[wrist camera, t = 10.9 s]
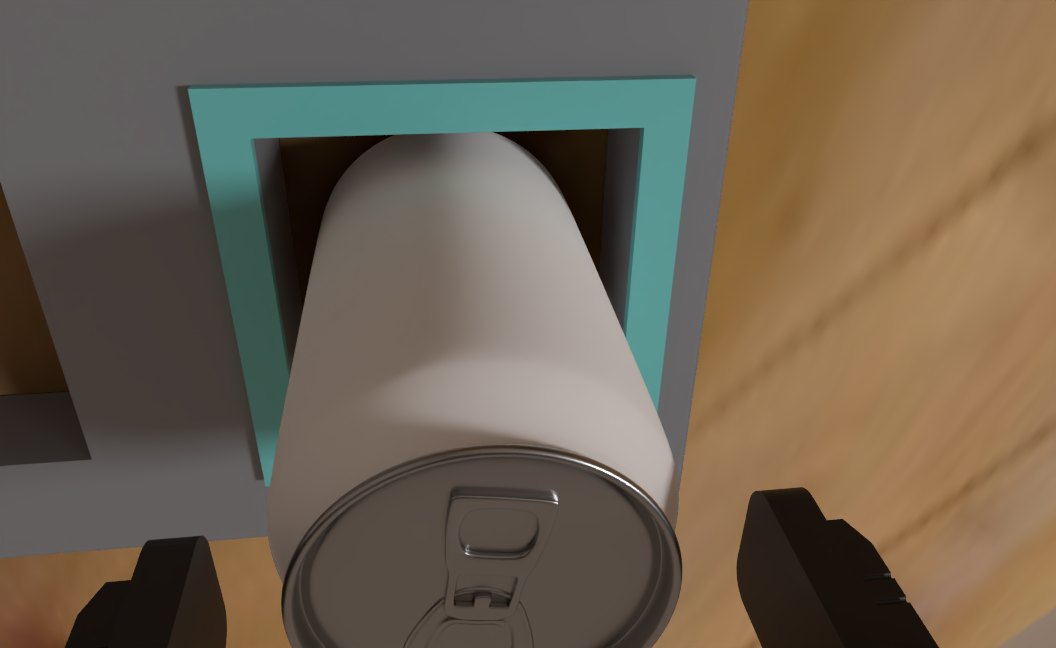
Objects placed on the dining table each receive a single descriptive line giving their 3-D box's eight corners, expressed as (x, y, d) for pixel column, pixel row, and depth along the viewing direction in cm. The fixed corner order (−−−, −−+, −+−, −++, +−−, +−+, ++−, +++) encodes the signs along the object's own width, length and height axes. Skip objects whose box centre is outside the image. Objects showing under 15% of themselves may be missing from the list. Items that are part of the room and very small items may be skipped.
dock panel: (-555, -47, 16) (-756, -19, 13) (706, -50, 19) (758, -27, 16) (-226, 499, 23) (-311, 592, 21) (650, 436, 26) (680, 509, 23)
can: (312, 331, 23) (241, 747, 13) (330, 97, 20) (254, 400, 9) (542, 353, 24) (646, 745, 14) (594, 138, 21) (776, 441, 11)
